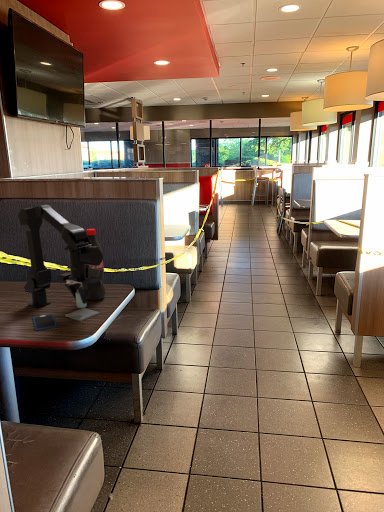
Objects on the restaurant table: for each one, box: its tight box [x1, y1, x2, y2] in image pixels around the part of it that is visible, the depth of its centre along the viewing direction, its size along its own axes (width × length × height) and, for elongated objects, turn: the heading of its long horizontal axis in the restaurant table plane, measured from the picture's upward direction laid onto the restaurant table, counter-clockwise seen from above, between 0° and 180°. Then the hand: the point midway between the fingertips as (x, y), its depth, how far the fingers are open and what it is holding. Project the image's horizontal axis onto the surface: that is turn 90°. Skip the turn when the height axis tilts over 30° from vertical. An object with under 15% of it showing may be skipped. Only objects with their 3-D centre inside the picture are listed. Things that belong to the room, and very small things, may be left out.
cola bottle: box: [85, 228, 107, 301], centre depth 166 cm, size 8×8×30 cm
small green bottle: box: [75, 289, 87, 309], centre depth 149 cm, size 4×4×7 cm
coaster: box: [65, 307, 100, 322], centre depth 150 cm, size 9×9×1 cm
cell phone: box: [32, 313, 58, 332], centre depth 144 cm, size 7×14×1 cm, turn 25°
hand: (81, 302), depth 149 cm, fingers closed on small green bottle, 4 cm apart
